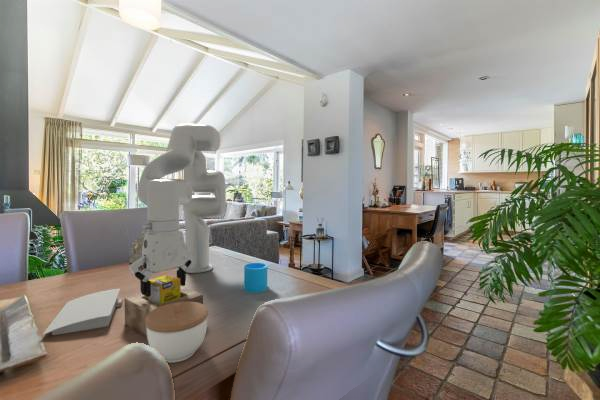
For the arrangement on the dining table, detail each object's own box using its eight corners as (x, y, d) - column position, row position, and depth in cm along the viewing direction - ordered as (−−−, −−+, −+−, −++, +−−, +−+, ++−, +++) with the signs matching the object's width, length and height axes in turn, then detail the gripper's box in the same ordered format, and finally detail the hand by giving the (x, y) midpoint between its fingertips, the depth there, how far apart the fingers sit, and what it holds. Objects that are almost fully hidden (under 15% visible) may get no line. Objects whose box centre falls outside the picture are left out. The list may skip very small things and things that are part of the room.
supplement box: (181, 316, 81) (181, 277, 80) (161, 326, 75) (161, 284, 75) (167, 311, 84) (166, 274, 83) (147, 320, 78) (146, 280, 78)
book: (127, 298, 96) (126, 286, 95) (117, 330, 75) (117, 316, 75) (68, 305, 89) (68, 293, 89) (40, 344, 68) (39, 327, 68)
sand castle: (170, 261, 138) (168, 229, 137) (130, 267, 129) (128, 233, 129) (165, 256, 151) (163, 226, 150) (128, 261, 142) (126, 230, 142)
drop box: (125, 323, 77) (124, 297, 77) (174, 306, 89) (174, 283, 88) (152, 341, 69) (152, 312, 69) (203, 319, 81) (203, 294, 80)
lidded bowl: (174, 334, 73) (173, 290, 72) (219, 342, 69) (219, 297, 68) (131, 364, 61) (130, 312, 60) (183, 376, 57) (182, 321, 56)
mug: (270, 290, 103) (270, 267, 102) (246, 294, 100) (247, 270, 99) (261, 280, 114) (261, 259, 113) (239, 282, 111) (240, 261, 110)
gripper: (136, 232, 68) (138, 304, 69) (200, 224, 82) (200, 284, 83) (121, 228, 73) (123, 296, 74) (184, 221, 87) (185, 278, 88)
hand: (164, 289), depth 79 cm, fingers open, 9 cm apart
